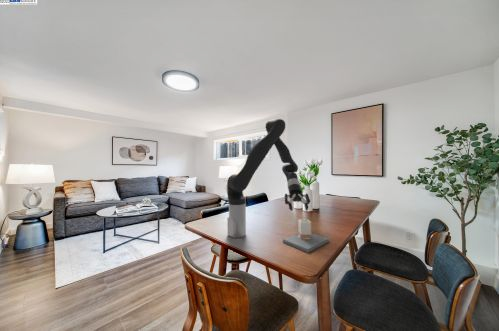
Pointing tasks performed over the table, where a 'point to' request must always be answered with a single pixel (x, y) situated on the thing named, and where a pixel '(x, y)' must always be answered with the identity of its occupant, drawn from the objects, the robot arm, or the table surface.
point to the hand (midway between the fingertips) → (299, 209)
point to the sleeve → (304, 228)
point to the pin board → (306, 242)
